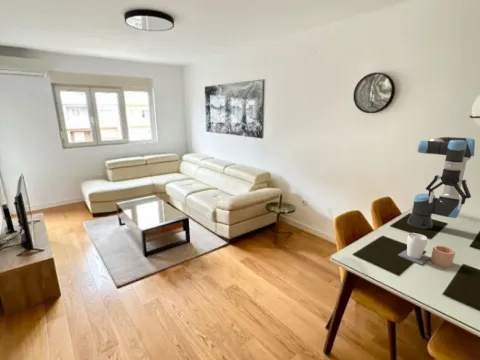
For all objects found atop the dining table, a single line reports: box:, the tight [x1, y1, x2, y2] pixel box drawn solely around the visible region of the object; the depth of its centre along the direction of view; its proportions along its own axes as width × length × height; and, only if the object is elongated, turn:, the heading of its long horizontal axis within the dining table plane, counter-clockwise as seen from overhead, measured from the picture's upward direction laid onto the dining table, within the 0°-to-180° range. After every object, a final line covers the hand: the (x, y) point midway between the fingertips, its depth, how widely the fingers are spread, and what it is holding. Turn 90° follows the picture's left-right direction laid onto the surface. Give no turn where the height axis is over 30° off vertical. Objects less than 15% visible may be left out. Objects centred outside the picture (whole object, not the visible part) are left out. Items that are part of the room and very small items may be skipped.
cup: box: [406, 232, 428, 259], centre depth 147 cm, size 9×9×12 cm
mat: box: [397, 248, 431, 266], centre depth 148 cm, size 12×12×1 cm
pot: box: [430, 244, 456, 268], centre depth 142 cm, size 9×9×8 cm
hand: (444, 205), depth 147 cm, fingers open, 13 cm apart
